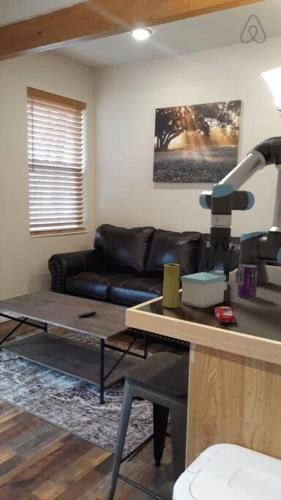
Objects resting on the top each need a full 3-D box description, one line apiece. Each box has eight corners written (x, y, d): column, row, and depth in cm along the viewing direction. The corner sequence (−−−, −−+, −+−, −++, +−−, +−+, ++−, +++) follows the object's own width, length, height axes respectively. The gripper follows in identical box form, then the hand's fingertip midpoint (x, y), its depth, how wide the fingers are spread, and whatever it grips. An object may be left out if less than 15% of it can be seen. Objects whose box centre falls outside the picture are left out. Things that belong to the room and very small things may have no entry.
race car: (213, 313, 132) (214, 301, 132) (230, 314, 132) (231, 302, 131) (216, 325, 119) (217, 311, 119) (235, 326, 119) (236, 312, 118)
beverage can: (256, 299, 152) (258, 267, 151) (237, 297, 154) (238, 266, 152) (255, 295, 159) (257, 264, 158) (236, 293, 160) (238, 263, 159)
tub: (202, 297, 153) (203, 276, 152) (223, 301, 147) (224, 280, 146) (181, 303, 143) (182, 281, 142) (202, 308, 137) (203, 284, 136)
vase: (181, 304, 141) (182, 264, 140) (177, 308, 136) (178, 266, 134) (164, 302, 143) (165, 262, 142) (159, 307, 138) (160, 265, 136)
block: (211, 278, 157) (211, 269, 157) (234, 281, 150) (234, 272, 150) (180, 284, 142) (180, 275, 142) (204, 289, 136) (204, 279, 135)
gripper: (195, 225, 152) (192, 286, 155) (236, 228, 140) (233, 294, 143) (206, 225, 158) (204, 284, 160) (247, 227, 146) (244, 291, 149)
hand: (218, 288), depth 152 cm, fingers closed on block, 4 cm apart
